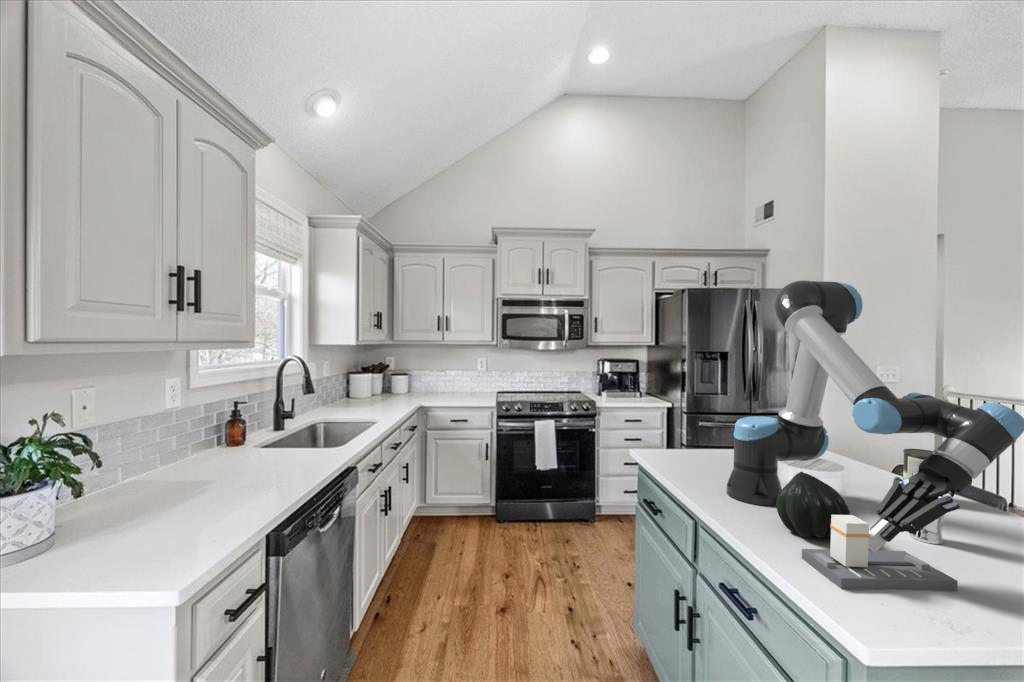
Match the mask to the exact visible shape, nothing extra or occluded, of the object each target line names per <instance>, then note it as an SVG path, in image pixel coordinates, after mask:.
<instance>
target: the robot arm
mask: <svg viewBox="0 0 1024 682" xmlns="http://www.w3.org/2000/svg"><path fill="white" fill-rule="evenodd" d="M863 304H864V303H863V299H862V296H861V294H860V293H859V291H858V290H857V288H856V287H854V286H852V285H851V284H849V283H843V282H838V281H819V280H818V281H817V280H816V281H815V280H797V281H792V282H790V283H788V284H787V285H785V286H783V287H782V288H781V290H779V292H778V293H777V295H776V297H775V300H774V311H775V315H776V318H777V320H778V321H779V322H780V324H781V325H782V327H783V328H784V329H785V331H786V332H788V333H791V334H794V335H795V336H796V337H797V338H798V340H799V341H800V342H799V346H798V351H797V354H796V355H797V356H796V359H795V360H796V361H795V365H794V369H793V373H792V377H791V381H790V382H791V383H790V386H789V387H790V388H789V391H788V396H787V400H786V406H785V407H784V408H783V409H782V410H779V411H778V413H777V414H778V415H777V418H775V417H771V416H763V415H761V416H755V415H754V416H746V417H742V418H739V419H737V421H736V422H735V423H734V431H733V437H734V438H733V439H734V440H733V468H732V471H731V473H730V476H729V479H728V480H727V483H726V494H727V496H729V497H730V498H731V499H732V498H733V499H735V500H737V501H741V502H744V503H747V504H753V505H758V506H759V505H761V506H777V505H776V504H777V497H778V495H779V493H780V491H781V490H782V489H783V488H782V485H781V481H780V479H779V475H778V474H779V473H778V467H779V466H778V463H779V462H792V461H800V462H806V461H811V460H815V459H818V458H820V457H822V456H823V455H824V454H825V453H826V451H827V450H828V447H829V443H830V442H829V435H828V434H827V433H828V431H827V429H826V428H825V427H824V421H823V419H822V418H821V417H820V412H821V407H822V403H823V401H824V396H825V392H826V388H827V383H828V379H829V377H830V378H831V380H832V381H833V382H834V383H835V384H836V386H837V387H838V388H839V389H840V390H841V392H843V394H844V395H845V397H847V399H848V400H849V401H850V403H851V404H852V405H853V407H852V410H851V411H852V413H851V415H852V416H853V422H854V424H855V425H856V426H857V427H858V428H859V429H860V430H861V431H863V432H865V433H868V434H878V435H892V434H893V435H894V434H925V433H929V434H933V435H937V436H940V437H942V438H945V440H944V441H942V442H941V443H940V444H939V445H937V447H935V449H933V450H932V451H933V454H931V455H929V456H928V457H927V458H926V459H925V460H924V461H923V462H921V463H920V464H919V471H918V473H917V474H915V475H913V476H911V477H910V478H909V479H905V480H903V479H901V478H900V477H899V476H896V477H894V479H893V480H892V481H893V483H892V485H891V487H890V488H889V489H888V492H887V493H886V494H885V496H884V497H883V499H882V500H881V502H880V503H879V505H878V506H877V508H876V509H875V513H876V514H877V515H878V516H879V519H878V520H877V521H876V522H875V523H874V524H873V525H872V526H871V527H870V528H869V535H870V538H869V541H868V550H869V551H871V552H872V553H876V552H877V551H880V549H881V548H882V547H883V546H884V545H885V544H886V543H887V542H888V543H890V542H891V541H892V540H894V539H895V537H896V536H898V535H899V534H900V533H904V532H907V533H909V535H910V534H914V533H915V532H917V531H919V530H920V529H922V528H923V527H925V526H927V525H928V524H930V523H931V522H933V521H935V520H936V519H938V518H939V517H941V516H943V515H944V514H945V515H946V514H947V513H951V512H953V511H954V512H955V511H957V510H958V509H960V508H961V506H960V505H959V504H958V503H957V502H956V500H954V496H955V494H961V493H962V492H963V491H964V490H965V489H966V488H967V487H968V486H970V484H972V483H973V480H974V479H976V478H978V477H979V476H980V475H981V474H982V473H983V472H984V471H985V470H986V469H987V468H988V467H989V466H990V465H991V464H992V463H993V462H994V461H995V460H997V458H999V456H1000V455H1002V454H1003V453H1004V452H1005V451H1006V450H1007V449H1008V448H1009V447H1010V446H1012V445H1013V444H1015V443H1016V442H1017V440H1018V438H1019V437H1020V436H1021V435H1022V434H1023V433H1024V417H1023V416H1022V415H1021V414H1020V413H1019V412H1018V411H1016V410H1014V409H1012V408H1011V407H1009V406H1006V405H1004V404H1002V403H998V402H985V403H983V404H981V405H980V406H978V407H977V408H976V409H974V408H970V407H966V406H963V405H960V404H956V403H952V402H950V401H948V400H943V399H940V398H937V397H935V396H933V395H931V394H923V393H919V392H910V393H908V394H907V395H904V396H902V397H901V398H898V397H897V396H896V395H895V394H894V393H893V392H892V391H891V390H890V388H888V387H887V386H886V384H885V383H884V382H883V381H882V380H881V379H880V377H878V376H877V374H876V373H875V372H874V371H873V370H872V369H871V368H870V367H869V365H868V364H867V363H866V362H865V361H864V360H863V359H862V358H861V357H860V356H859V355H858V353H857V352H856V351H855V350H854V349H853V348H852V347H851V346H850V345H849V344H848V343H847V341H846V340H845V339H844V338H843V337H842V336H843V335H845V334H846V332H847V329H848V325H850V324H852V323H854V322H855V321H856V320H858V319H859V317H860V316H861V315H862V312H863ZM945 515H944V516H945ZM912 525H913V526H912Z"/></svg>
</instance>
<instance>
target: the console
mask: <svg viewBox="0 0 1024 682" xmlns="http://www.w3.org/2000/svg"><path fill="white" fill-rule="evenodd" d="M801 559H802V560H803V561H805V562H806V563H807V564H808V565H810V566H811V567H812V568H813V569H815V570H816V571H818V572H819V573H820V574H822V575H823V576H824V577H825V578H826V579H828V580H829V581H830V582H832V583H833V584H834V585H836V586H837V587H838V588H839V589H841V590H843V589H844V590H849V589H850V590H879V591H880V590H882V591H883V590H884V591H889V590H890V591H892V590H893V591H922V592H923V591H929V592H931V591H933V592H937V591H938V592H958V582H959V581H958V580H957V579H956V578H953V577H951V576H950V575H948V574H946V573H944V572H942V571H940V570H939V569H937V568H935V567H933V566H932V565H930V564H929V563H927V562H925V561H924V560H921V559H920V558H918V557H917V556H915V555H913V554H910V553H908V552H906V551H905V550H878V551H877V552H876V553H872V552H871V551H869V550H868V567H846V566H844V565H843V564H841V563H840V562H838V561H837V560H835V559H834V558H833V557H831V556H830V549H826V548H824V549H822V548H821V549H820V548H819V549H818V548H801Z"/></svg>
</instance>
